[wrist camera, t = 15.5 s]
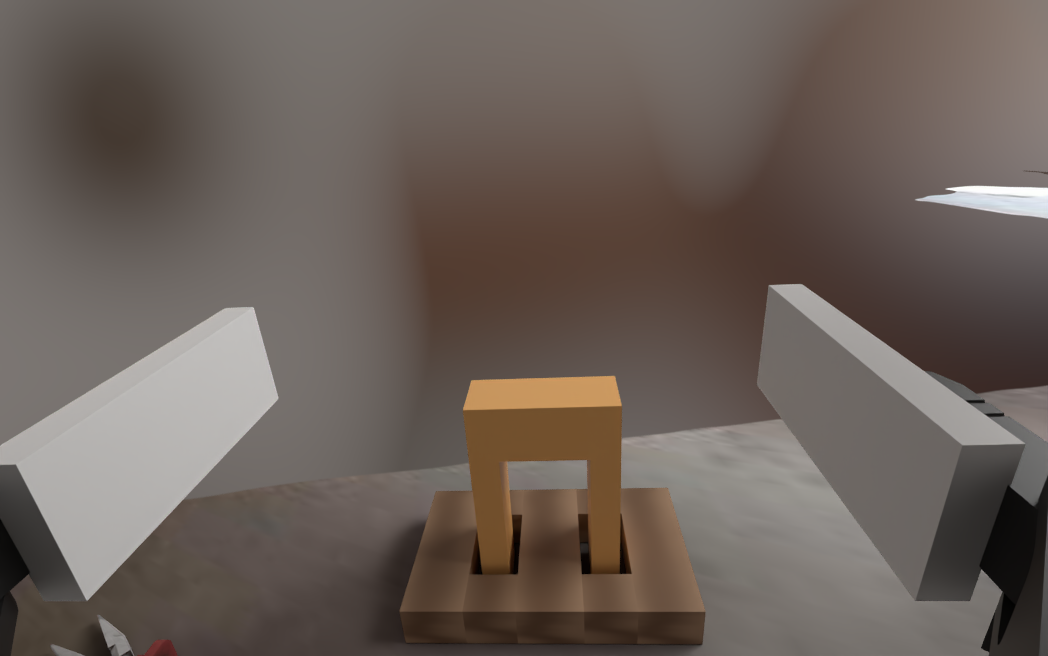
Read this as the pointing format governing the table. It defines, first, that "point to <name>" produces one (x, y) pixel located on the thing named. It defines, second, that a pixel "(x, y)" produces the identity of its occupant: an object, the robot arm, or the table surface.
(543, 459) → the orange arch-shaped block
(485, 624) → the wooden slotted board
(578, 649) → the table surface
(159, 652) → the pliers
